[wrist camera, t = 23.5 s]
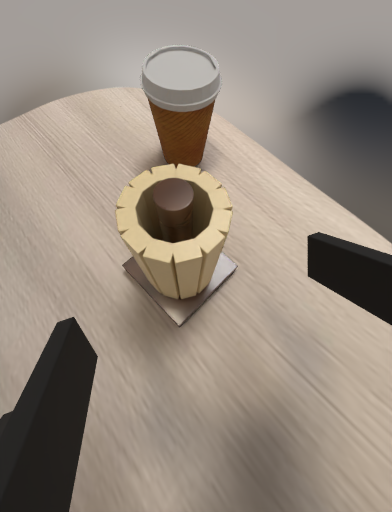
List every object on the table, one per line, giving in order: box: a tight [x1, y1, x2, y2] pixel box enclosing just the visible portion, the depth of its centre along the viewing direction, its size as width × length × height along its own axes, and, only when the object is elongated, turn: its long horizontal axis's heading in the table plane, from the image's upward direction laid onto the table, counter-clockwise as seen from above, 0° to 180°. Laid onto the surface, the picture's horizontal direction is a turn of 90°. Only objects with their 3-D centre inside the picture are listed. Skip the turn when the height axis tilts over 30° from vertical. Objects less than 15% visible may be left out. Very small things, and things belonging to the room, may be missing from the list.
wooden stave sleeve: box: [115, 164, 233, 299], centre depth 20 cm, size 8×8×12 cm
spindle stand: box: [122, 178, 237, 327], centre depth 20 cm, size 10×10×15 cm
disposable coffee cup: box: [140, 45, 222, 168], centre depth 29 cm, size 10×10×12 cm
